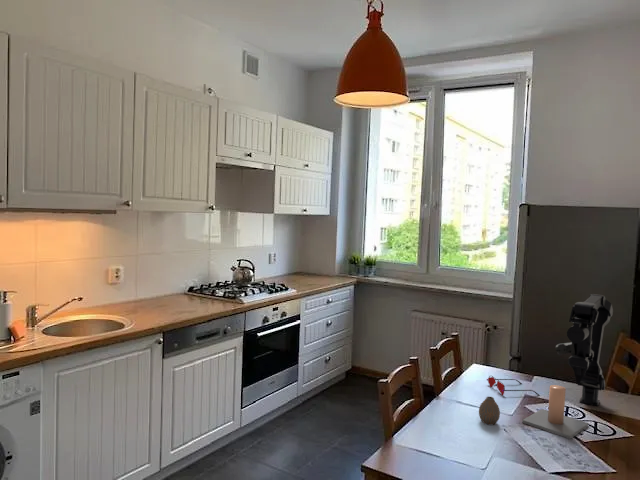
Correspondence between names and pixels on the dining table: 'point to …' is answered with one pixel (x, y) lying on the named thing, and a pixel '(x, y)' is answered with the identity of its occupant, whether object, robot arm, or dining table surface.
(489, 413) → the vase
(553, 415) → the tan cylinder
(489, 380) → the glasses
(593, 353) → the robot arm
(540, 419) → the tile
